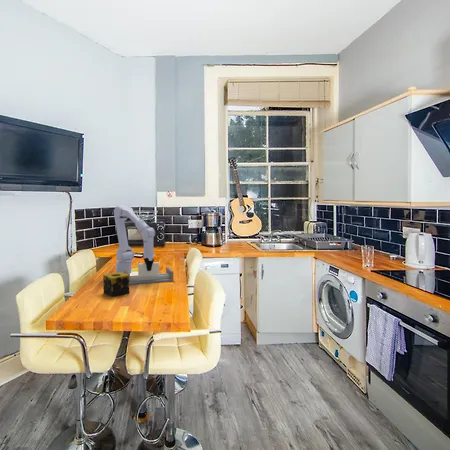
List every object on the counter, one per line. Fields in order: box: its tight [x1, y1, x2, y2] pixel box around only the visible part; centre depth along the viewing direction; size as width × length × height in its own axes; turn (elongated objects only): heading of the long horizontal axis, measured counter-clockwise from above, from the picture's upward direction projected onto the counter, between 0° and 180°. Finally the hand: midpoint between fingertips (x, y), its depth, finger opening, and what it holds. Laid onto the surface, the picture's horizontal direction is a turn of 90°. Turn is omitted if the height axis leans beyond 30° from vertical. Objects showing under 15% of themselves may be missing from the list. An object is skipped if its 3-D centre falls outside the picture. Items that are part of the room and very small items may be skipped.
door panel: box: [137, 261, 160, 277], centre depth 203 cm, size 12×2×8 cm, turn 112°
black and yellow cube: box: [102, 271, 130, 298], centre depth 176 cm, size 10×10×10 cm
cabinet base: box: [124, 266, 174, 286], centre depth 203 cm, size 27×14×6 cm, turn 112°
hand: (148, 270), depth 203 cm, fingers closed on door panel, 2 cm apart
